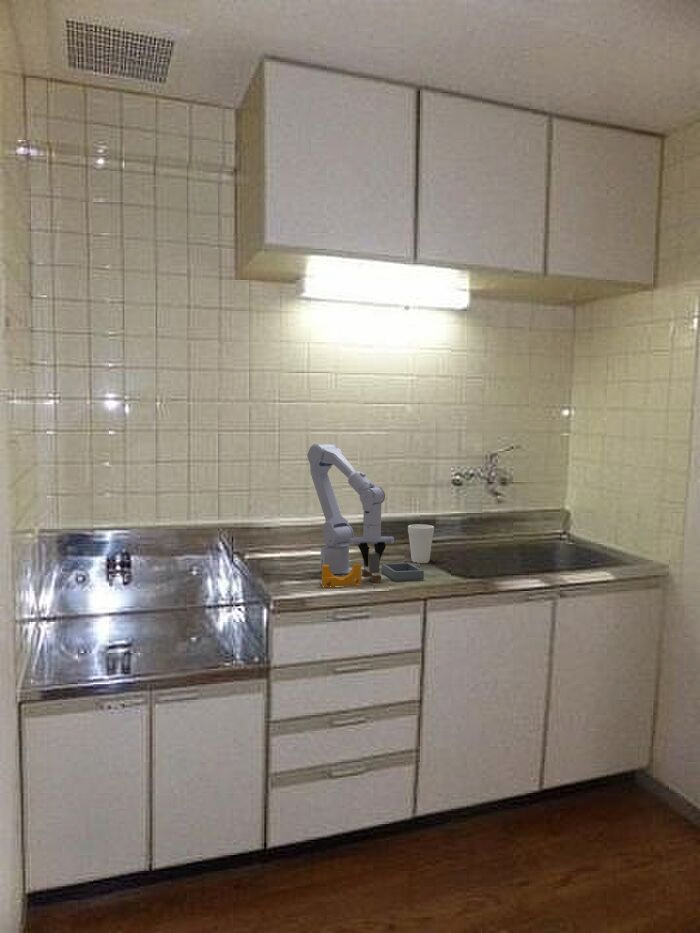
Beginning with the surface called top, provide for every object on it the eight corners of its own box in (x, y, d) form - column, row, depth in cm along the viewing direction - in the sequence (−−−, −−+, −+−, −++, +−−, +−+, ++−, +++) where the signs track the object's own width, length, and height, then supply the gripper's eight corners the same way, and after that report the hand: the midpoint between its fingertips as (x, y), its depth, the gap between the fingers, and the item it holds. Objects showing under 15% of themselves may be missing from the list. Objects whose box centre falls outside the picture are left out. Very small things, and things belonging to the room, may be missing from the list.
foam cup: (407, 563, 238) (408, 528, 238) (407, 558, 248) (407, 524, 247) (434, 564, 238) (434, 528, 237) (432, 559, 247) (433, 524, 246)
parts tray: (394, 581, 211) (394, 572, 211) (381, 572, 223) (381, 563, 223) (423, 579, 214) (423, 570, 213) (409, 571, 226) (409, 562, 226)
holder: (372, 582, 209) (372, 576, 209) (362, 575, 219) (362, 569, 219) (381, 582, 210) (381, 576, 209) (370, 574, 220) (370, 568, 220)
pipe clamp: (324, 588, 202) (324, 567, 201) (321, 585, 206) (321, 564, 206) (362, 586, 204) (362, 566, 204) (358, 583, 209) (359, 563, 208)
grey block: (370, 573, 210) (370, 554, 210) (363, 568, 217) (364, 550, 217) (379, 572, 211) (379, 554, 211) (372, 568, 218) (372, 550, 218)
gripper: (354, 526, 207) (353, 569, 208) (397, 525, 211) (396, 567, 212) (348, 523, 214) (347, 564, 215) (390, 522, 218) (389, 562, 219)
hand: (371, 565), depth 214 cm, fingers closed on grey block, 3 cm apart
